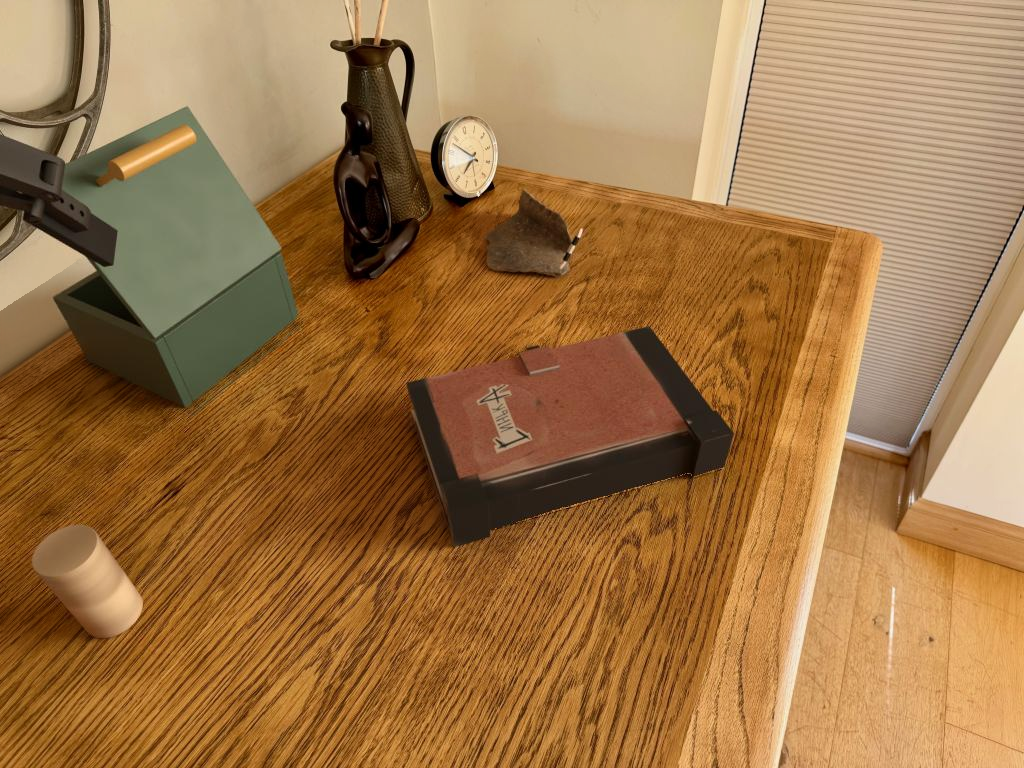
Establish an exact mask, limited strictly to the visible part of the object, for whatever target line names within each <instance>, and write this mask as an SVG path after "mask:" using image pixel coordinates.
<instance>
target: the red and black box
mask: <svg viewBox="0 0 1024 768" xmlns="http://www.w3.org/2000/svg"><path fill="white" fill-rule="evenodd" d="M405 384H406V389H407V392H408V395H409V398H410V401H411V404H412V407H413V408H412V409H410V415H411V419H412V421H413V424H414V427H415V430H416V433H417V437H418V439H419V443H420V447H421V449H422V453H423V455H424V458H425V462H426V464H427V467H428V471H429V474H430V477H431V480H432V482H433V483H432V484H433V486H434V489H435V492H436V495H437V498H438V502H439V505H440V507H441V511H442V514H443V517H444V520H445V523H446V526H447V529H448V532H449V536H450V539H451V542H452V545H453V548H456V547H460V546H463V545H467V544H470V543H473V542H472V541H474V542H477V541H480V539H481V540H483V538H484V539H486V538H485V537H488V538H490V537H491V531H490V530H493V529H495V528H500V527H503V526H507V525H509V524H512V523H516V522H518V521H522V520H525V519H527V518H532V517H534V516H538V515H540V514H541V515H542V514H544V513H546V512H550V511H552V510H556V509H560V508H562V507H568V506H570V505H574V504H577V503H581V502H585V501H588V500H592V499H596V498H599V497H603V496H608V495H611V494H614V493H618V492H621V491H624V490H628V489H631V488H634V487H639V486H642V485H647V484H650V483H654V482H657V481H661V480H665V479H668V478H672V477H677V476H680V475H682V474H683V475H684V474H685V473H686V474H687V473H691V474H692V476H693V477H694V476H697V475H700V474H703V473H706V472H708V471H709V472H710V471H712V470H715V469H719V468H723V467H724V468H726V463H727V460H728V456H729V452H730V449H731V446H732V442H733V439H734V435H735V433H734V431H733V430H732V429H731V427H730V426H729V425H728V423H727V422H726V421H725V419H724V418H723V417H722V415H721V414H720V412H719V411H718V410H717V409H715V410H713V408H712V407H711V406H710V404H709V403H708V402H707V400H706V398H705V397H704V396H703V395H702V393H701V392H700V391H699V390H698V389H697V387H696V385H695V384H694V383H693V382H692V380H691V379H690V378H689V376H688V375H687V373H685V371H684V370H683V369H682V367H681V366H680V365H679V363H678V362H677V360H676V359H675V358H674V356H673V355H672V354H671V352H670V351H669V350H668V349H667V347H666V346H665V345H664V343H663V342H662V341H661V339H660V338H659V336H658V335H657V334H656V332H655V331H654V330H653V329H652V327H651V326H650V325H648V326H643V327H640V328H635V329H631V330H626V331H623V332H618V333H613V334H609V335H605V336H601V337H597V338H592V339H587V340H583V341H579V342H575V343H571V344H568V345H562V346H559V347H558V346H557V347H554V348H551V347H550V346H549V345H547V346H542V347H541V346H540V345H539V344H536V345H533V346H528V347H526V349H525V351H521V352H519V356H515V357H510V358H506V359H502V360H498V361H493V362H489V363H485V364H481V365H476V366H472V367H468V368H463V369H459V370H455V371H451V372H450V371H449V372H447V373H441V374H438V375H434V376H429V377H425V378H421V379H416V380H411V381H407V382H406V383H405ZM507 527H508V526H507ZM503 528H504V527H503ZM500 529H501V528H500ZM493 531H494V530H493ZM476 540H477V541H476ZM459 545H460V546H459Z"/></svg>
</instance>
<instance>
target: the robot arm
mask: <svg viewBox="0 0 1024 768" xmlns="http://www.w3.org/2000/svg"><path fill="white" fill-rule="evenodd" d="M65 164H66V161H65V160H64V159H63V158H61V157H59V156H57V155H56V154H52V153H49V152H47V151H44V150H42V149H39V148H37V147H34V146H32V145H29V144H26V143H24V142H22V141H19V140H16V139H13V138H11V137H9V136H6V135H3V134H1V133H0V207H3V208H7V209H8V208H9V209H14V210H17V211H21V212H23V215H22V221H24V222H25V223H26V224H29V225H31V226H32V227H34V228H36V229H37V230H39V231H41V232H42V233H44V234H46V235H48V236H49V237H51V238H53V239H55V240H56V241H57V242H60V243H62V244H63V245H65V246H67V247H69V248H70V249H72V250H73V251H75V252H77V253H79V254H81V255H82V256H84V257H85V256H86V257H88V258H89V259H91V260H93V261H94V262H96V263H98V264H100V265H101V266H103V267H107V266H113V265H114V257H115V249H116V241H117V232H118V230H116V229H115V228H113V227H112V226H110V225H109V224H107V223H106V222H104V221H103V220H101V219H99V218H98V217H96V216H95V215H93V214H92V213H91V211H90V209H89V208H88V207H87V206H86V205H84V204H83V203H81V202H80V201H78V200H77V199H75V198H74V197H72V196H71V195H69V194H68V193H66V192H65V191H63V190H62V183H63V176H64V170H65ZM86 257H85V258H86Z"/></svg>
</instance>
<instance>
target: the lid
mask: <svg viewBox="0 0 1024 768" xmlns="http://www.w3.org/2000/svg"><path fill="white" fill-rule="evenodd" d="M62 190H63V191H65V192H66V193H68V194H69V195H71V196H72V197H74V198H75V199H77V200H78V201H80V202H81V203H83V204H84V205H86V206H87V207H88V208H89V209H90V211H91V213H92V214H93V215H95V216H96V217H98V218H99V219H101V220H103V221H104V222H106V223H107V224H109V225H110V226H112V227H113V228H115V229H116V230H118V232H117V241H116V249H115V257H114V265H113V266H107V267H103V266H101V265H100V264H98V263H96V262H94V261H93V260H91V259H89V258H88V257H86V256H84V257H85V258H86V260H87V261H88V262H89V263H90V265H92V267H93V268H94V269H95V271H97V272H98V273H99V274H100V275H101V277H102V278H103V279H104V280H105V282H106V283H107V284H108V285H109V287H110V288H111V289H112V290H113V292H114V293H115V294H116V295H117V297H118V298H119V299H120V300H121V302H122V303H123V304H124V305H125V307H126V308H127V309H128V310H129V312H130V313H131V314H132V315H133V317H134V318H135V319H136V320H137V322H138V323H139V324H140V325H141V327H142V328H143V329H144V330H145V332H146V333H147V334H148V335H149V337H150V338H151V339H156V338H157V337H158V336H160V335H161V334H163V333H164V332H165V331H167V330H168V329H170V328H171V327H173V326H174V325H175V324H177V323H178V322H180V321H181V320H182V319H184V318H185V317H187V316H188V315H189V314H191V313H192V312H194V311H195V310H197V309H198V308H199V307H201V306H202V305H204V304H205V303H206V302H208V301H209V300H211V299H212V298H213V297H215V296H216V295H218V294H219V293H220V292H222V291H223V290H225V289H226V288H228V287H229V286H230V285H232V284H233V283H235V282H236V281H237V280H239V279H240V278H242V277H243V276H244V275H246V274H247V273H249V272H250V271H252V270H253V269H254V268H256V267H257V266H259V265H260V264H261V263H263V262H264V261H266V260H267V259H268V258H270V257H271V256H273V255H274V254H275V253H277V252H280V251H281V250H282V249H283V248H282V246H281V245H280V243H279V242H278V240H277V238H276V237H275V235H274V234H273V232H272V231H271V229H270V228H269V226H268V225H267V223H266V222H265V221H264V219H263V217H262V216H261V215H260V213H259V211H258V210H257V208H256V207H255V205H254V204H253V202H252V201H251V198H249V196H248V194H247V193H246V191H244V189H243V187H242V186H241V185H240V183H239V181H238V180H237V178H236V177H235V175H234V173H233V172H232V171H231V169H230V167H229V166H228V164H227V163H226V162H225V160H224V159H223V157H222V155H221V154H220V152H219V151H218V149H217V148H216V147H215V145H214V144H213V141H211V139H210V137H209V135H208V134H207V133H206V132H205V130H204V128H203V127H202V126H201V124H200V123H199V121H198V119H197V118H196V116H195V115H194V114H193V112H192V111H191V109H190V107H189V106H185V107H182V108H180V109H178V110H176V111H174V112H172V113H170V114H168V115H166V116H163V117H161V118H159V119H157V120H155V121H152V122H150V123H148V124H146V125H145V126H142V127H140V128H137V129H135V130H134V131H132V132H130V133H128V134H126V135H123V136H122V137H119V138H117V139H115V140H113V141H110V142H109V143H106V144H104V145H102V146H100V147H98V148H96V149H94V150H91V151H89V152H88V153H86V154H83V155H81V156H79V157H77V158H74V159H72V160H71V161H69V162H65V170H64V176H63V183H62Z"/></svg>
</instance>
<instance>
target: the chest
mask: <svg viewBox="0 0 1024 768" xmlns="http://www.w3.org/2000/svg"><path fill="white" fill-rule="evenodd" d="M52 299H53V301H54V303H55V304H56V307H57V308H58V310H59V312H60V314H61V315H62V318H63V319H64V320H65V323H66V324H67V326H68V328H69V329H70V331H71V333H72V335H73V337H74V338H75V340H76V343H77V344H78V346H79V347H80V349H81V351H82V353H83V355H84V356H85V358H86V360H87V362H89V363H91V364H93V365H96V366H97V367H99V368H101V369H103V370H106V371H108V372H109V373H111V374H114V375H116V376H118V377H120V378H122V379H124V380H127V381H129V382H130V383H132V384H135V385H137V386H138V387H141V388H143V389H145V390H147V391H149V392H150V393H154V394H155V395H157V396H160V397H162V398H164V399H165V400H168V401H170V402H172V403H174V404H176V405H178V406H180V407H183V408H184V409H185V408H187V407H189V406H190V405H191V404H192V403H193V402H195V401H196V400H197V399H199V398H200V397H201V396H202V395H204V394H205V393H206V392H207V391H208V390H210V389H211V388H212V387H213V386H214V385H216V384H218V382H220V381H221V380H222V379H223V378H224V377H226V376H227V375H228V374H229V373H231V372H232V371H233V370H234V369H235V368H236V367H238V366H240V365H241V364H242V363H243V362H244V361H245V360H246V359H248V358H249V357H250V356H251V355H253V354H254V353H255V352H257V351H258V350H259V349H260V348H262V347H263V346H264V345H265V344H266V343H268V342H269V341H270V340H271V339H272V338H274V337H275V336H276V335H278V334H279V333H280V332H281V331H283V330H284V329H285V328H287V326H289V325H290V324H291V323H292V322H294V321H295V320H296V319H297V318H298V317H299V311H298V309H297V304H296V301H295V297H294V294H293V291H292V285H291V283H290V279H289V276H288V272H287V268H286V265H285V262H284V257H283V254H282V253H281V252H280V251H278V252H277V253H275V254H274V255H273V256H271V257H270V258H268V259H267V260H266V261H264V262H263V263H261V264H260V265H259V266H257V267H256V268H254V269H253V270H252V271H250V272H249V273H247V274H246V275H244V276H243V277H242V278H240V279H239V280H237V281H236V282H235V283H233V284H232V285H230V286H229V287H228V288H226V289H225V290H223V291H222V292H220V293H219V294H218V295H216V296H215V297H213V298H212V299H211V300H209V301H208V302H206V303H205V304H204V305H202V306H201V307H199V308H198V309H197V310H195V311H194V312H192V313H191V314H189V315H188V316H187V317H185V318H184V319H182V320H181V321H180V322H178V323H177V324H175V325H174V326H173V327H171V328H170V329H168V330H167V331H165V332H164V333H163V334H161V335H160V336H158V337H157V338H156V339H151V338H150V337H149V335H148V334H147V333H146V332H145V330H144V329H143V328H142V327H141V325H140V324H139V323H138V322H137V320H136V319H135V318H134V317H133V315H132V314H131V313H130V312H129V310H128V309H127V308H126V307H125V305H124V304H123V303H122V302H121V300H120V299H119V298H118V297H117V295H116V294H115V293H114V292H113V290H112V289H111V288H110V287H109V285H108V284H107V283H106V282H105V280H104V279H103V278H102V277H101V275H100V274H99V273H98V272H97V270H95V271H93V272H92V273H91V274H88V275H87V276H85V277H84V278H82V279H81V280H79V281H77V282H75V283H74V284H72V285H70V286H69V287H66V288H65V289H64V290H62V291H60V292H59V293H57V294H55V295H54V296H52ZM300 327H302V324H300V325H298V326H297V327H296V328H295V329H293V330H292V331H291V332H290V333H288V334H287V335H286V336H285V337H283V339H281V340H280V341H279V342H277V344H275V345H274V346H273V347H272V348H271V349H269V350H268V351H267V352H266V353H264V354H263V355H262V356H260V358H258V359H257V360H255V361H254V362H253V363H252V364H251V365H250V366H249V367H247V368H246V369H245V370H244V371H243V372H241V373H240V374H238V376H236V377H235V378H234V379H233V380H231V381H230V382H229V383H228V384H227V385H225V386H224V387H223V388H222V389H221V390H220V391H218V392H217V393H216V394H214V395H213V396H212V397H211V398H209V399H208V400H207V401H206V402H205V403H204V404H203V405H201V406H200V407H199V408H197V409H196V410H195V411H194V412H193V413H191V414H190V415H189V416H188V418H191V417H193V416H194V415H195V414H196V413H197V412H198V411H200V410H201V409H202V408H203V407H205V406H206V405H208V403H210V402H211V401H212V400H213V399H215V397H217V396H218V395H219V394H221V393H222V392H223V391H224V390H225V389H226V388H228V387H229V386H230V385H231V384H232V383H234V382H235V381H236V380H237V379H238V378H240V377H241V376H242V375H243V374H245V373H246V372H247V371H248V370H249V369H251V368H253V366H254V365H255V364H257V363H258V362H259V361H260V360H262V359H263V358H264V357H265V356H266V355H268V354H269V353H270V352H271V351H273V350H274V349H275V348H276V347H277V346H279V345H280V344H281V343H282V342H284V340H286V339H287V338H288V337H289V336H291V335H292V334H293V333H294V332H295V331H297V330H298V329H299V328H300Z"/></svg>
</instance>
